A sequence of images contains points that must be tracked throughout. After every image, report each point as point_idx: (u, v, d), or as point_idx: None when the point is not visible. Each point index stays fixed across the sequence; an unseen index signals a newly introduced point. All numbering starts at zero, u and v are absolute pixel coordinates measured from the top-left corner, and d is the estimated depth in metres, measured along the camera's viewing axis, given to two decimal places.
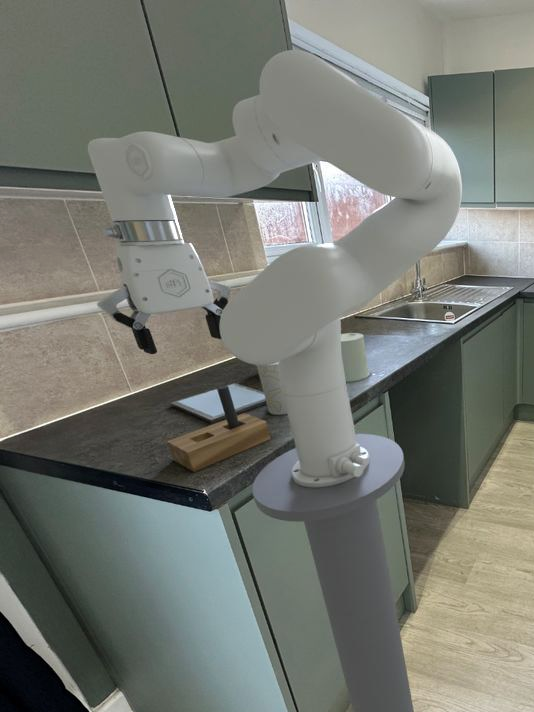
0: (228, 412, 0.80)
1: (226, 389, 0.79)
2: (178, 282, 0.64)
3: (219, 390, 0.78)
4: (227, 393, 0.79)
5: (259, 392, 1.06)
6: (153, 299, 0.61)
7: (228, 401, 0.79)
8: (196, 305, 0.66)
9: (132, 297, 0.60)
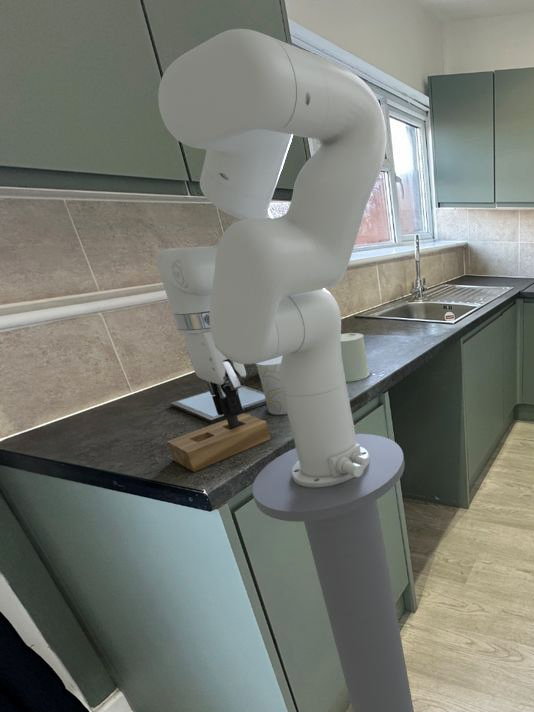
0: None
1: None
2: None
3: None
4: None
5: (259, 392, 1.06)
6: None
7: None
8: None
9: (238, 367, 0.76)
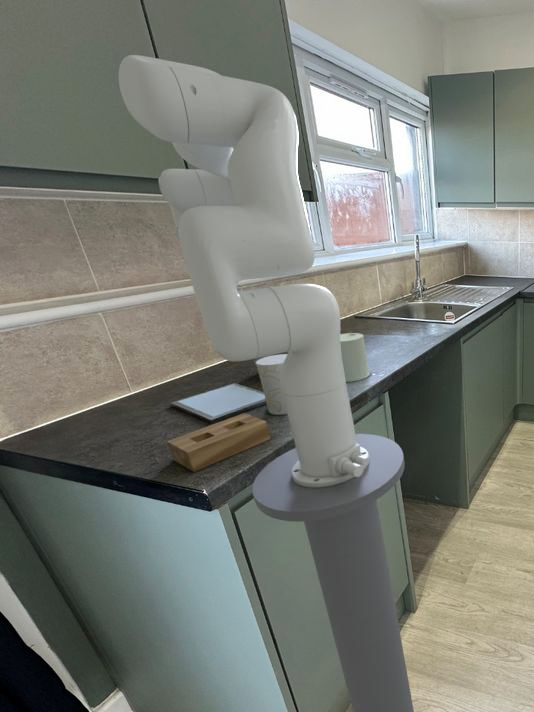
0: None
1: None
2: None
3: None
4: None
5: (259, 392, 1.06)
6: None
7: None
8: None
9: None
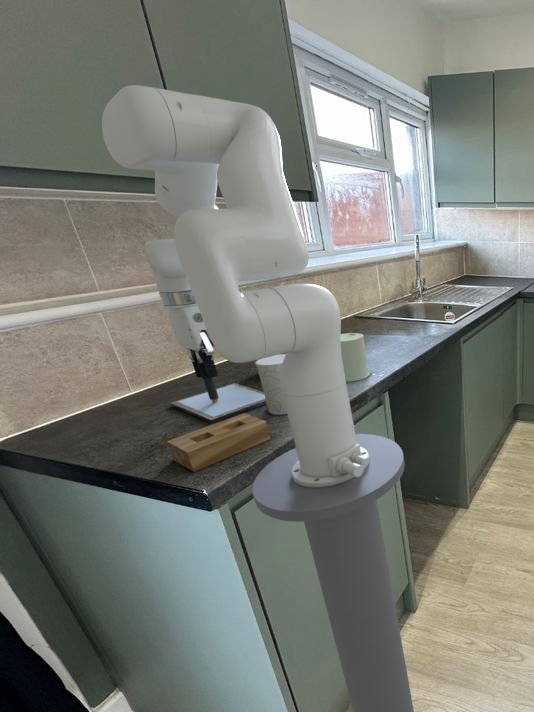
0: None
1: None
2: None
3: None
4: None
5: (259, 392, 1.06)
6: None
7: None
8: None
9: None
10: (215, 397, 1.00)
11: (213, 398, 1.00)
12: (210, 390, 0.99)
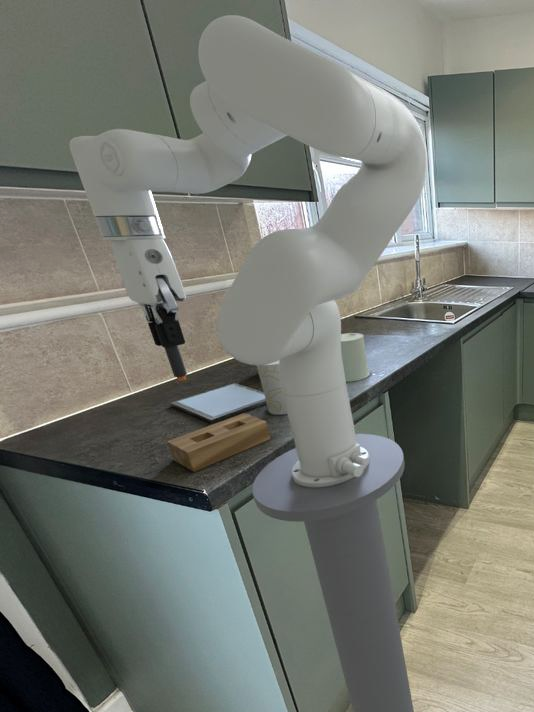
0: None
1: None
2: None
3: None
4: None
5: (259, 392, 1.06)
6: None
7: None
8: None
9: (174, 285, 0.66)
10: (182, 374, 0.72)
11: (179, 375, 0.72)
12: (174, 364, 0.71)
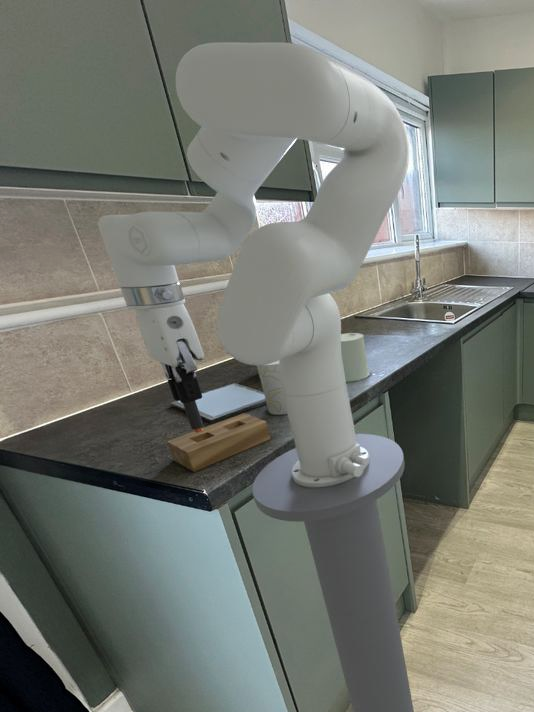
0: None
1: None
2: None
3: None
4: None
5: (259, 392, 1.06)
6: None
7: None
8: None
9: (194, 347, 0.69)
10: (199, 426, 0.76)
11: (196, 427, 0.76)
12: (192, 417, 0.75)
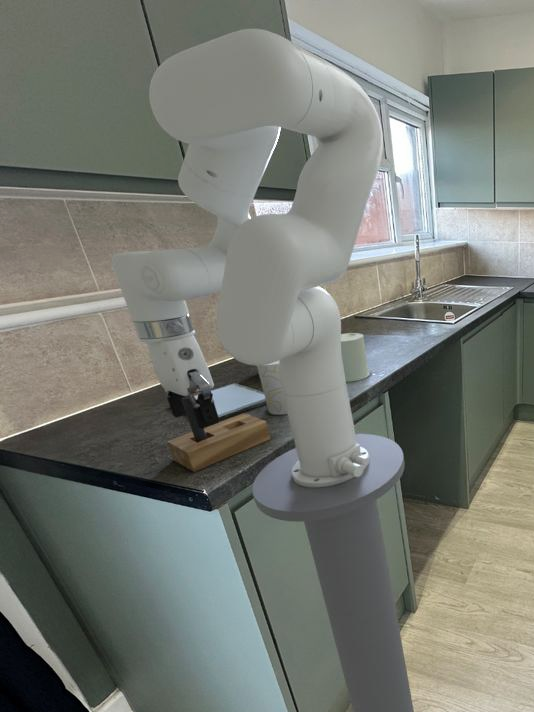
0: (194, 424, 0.75)
1: None
2: None
3: (183, 401, 0.74)
4: (192, 404, 0.74)
5: (259, 392, 1.06)
6: None
7: None
8: None
9: (204, 377, 0.71)
10: None
11: None
12: None
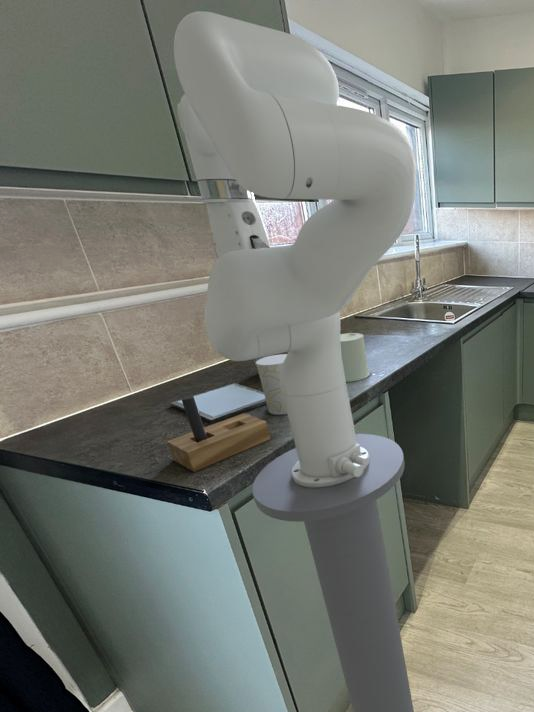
0: (194, 424, 0.75)
1: (191, 400, 0.74)
2: None
3: (183, 401, 0.74)
4: (192, 404, 0.74)
5: (259, 392, 1.06)
6: None
7: (194, 412, 0.75)
8: None
9: None
10: None
11: None
12: None
